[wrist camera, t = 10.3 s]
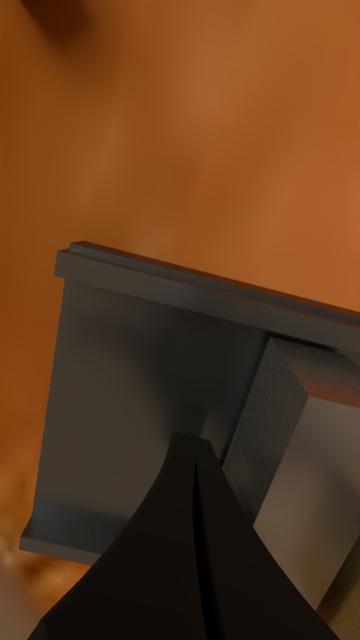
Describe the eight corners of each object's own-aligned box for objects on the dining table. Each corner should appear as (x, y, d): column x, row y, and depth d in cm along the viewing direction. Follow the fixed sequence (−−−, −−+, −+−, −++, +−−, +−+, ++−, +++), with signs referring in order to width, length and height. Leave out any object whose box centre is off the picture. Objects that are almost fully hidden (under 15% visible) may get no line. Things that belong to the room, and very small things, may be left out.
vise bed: (576, 368, 11) (853, 476, 7) (418, 590, 15) (523, 764, 10) (83, 240, 11) (-6, 257, 6) (43, 505, 14) (-33, 648, 10)
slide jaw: (346, 355, 10) (423, 424, 7) (250, 565, 13) (270, 686, 10) (270, 336, 10) (308, 396, 6) (191, 552, 13) (190, 669, 9)
